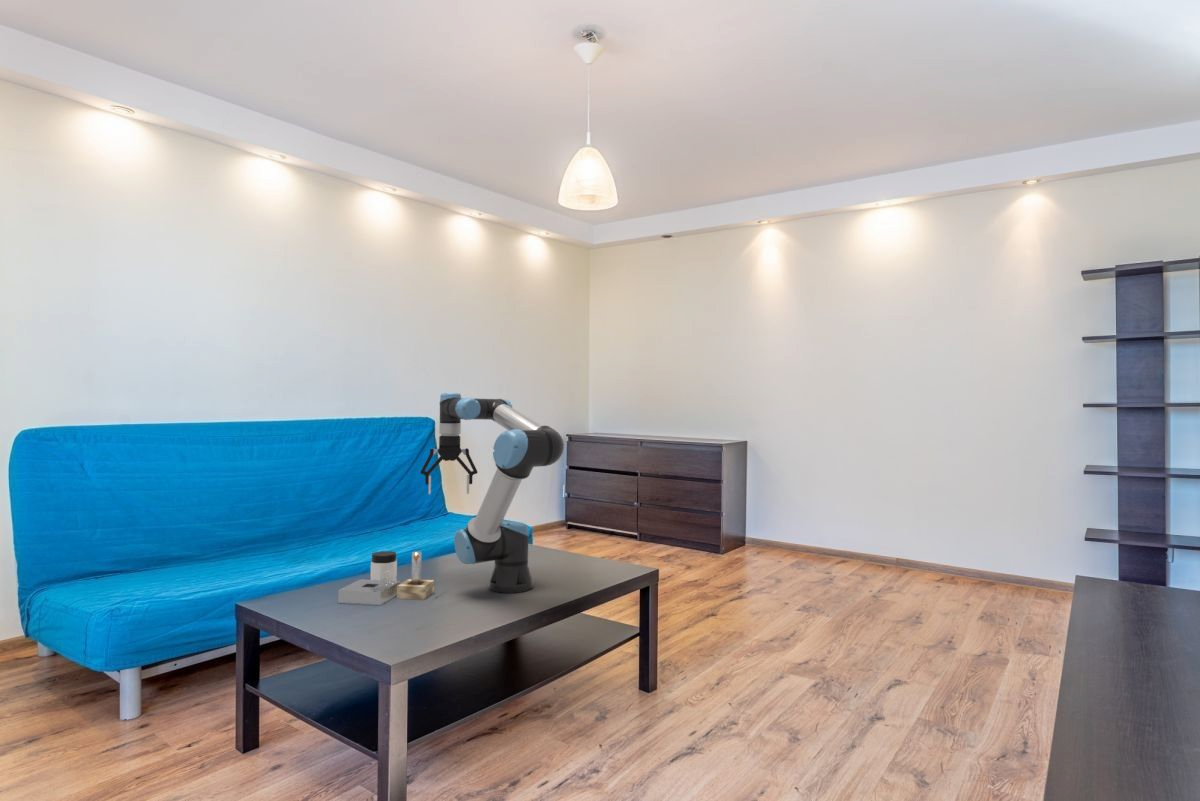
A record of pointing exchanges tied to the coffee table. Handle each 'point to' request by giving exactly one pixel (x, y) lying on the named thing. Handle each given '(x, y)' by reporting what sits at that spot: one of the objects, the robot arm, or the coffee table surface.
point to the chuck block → (368, 592)
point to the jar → (384, 566)
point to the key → (416, 568)
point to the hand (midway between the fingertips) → (448, 493)
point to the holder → (415, 590)
